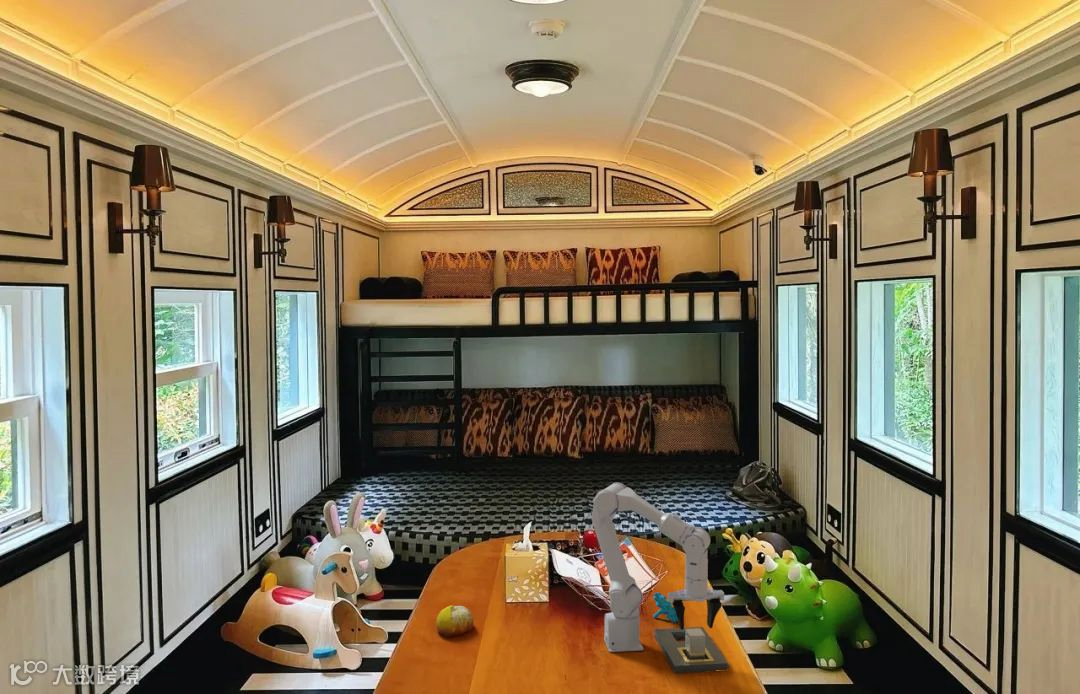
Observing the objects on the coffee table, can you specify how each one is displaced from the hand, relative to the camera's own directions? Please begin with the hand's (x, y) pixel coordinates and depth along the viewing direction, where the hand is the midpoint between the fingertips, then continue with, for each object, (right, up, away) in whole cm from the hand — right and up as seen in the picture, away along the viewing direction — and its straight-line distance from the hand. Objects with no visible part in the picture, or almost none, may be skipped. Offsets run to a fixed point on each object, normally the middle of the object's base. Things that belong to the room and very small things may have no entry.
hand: (695, 627), depth 183 cm
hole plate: (0, -9, +5) cm, 11 cm away
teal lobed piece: (-3, -8, +26) cm, 27 cm away
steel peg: (0, -9, +1) cm, 9 cm away
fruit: (-65, -9, +19) cm, 68 cm away
